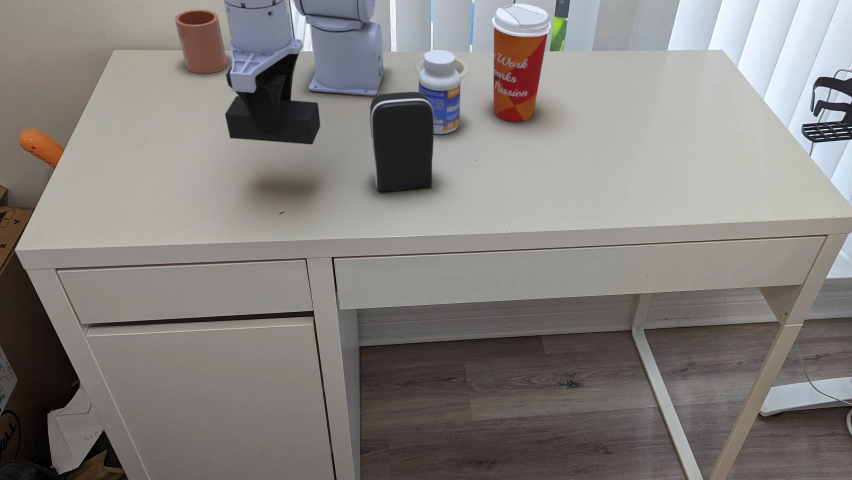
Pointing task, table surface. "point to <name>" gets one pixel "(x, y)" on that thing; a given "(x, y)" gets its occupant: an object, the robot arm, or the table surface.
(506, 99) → the paper cup
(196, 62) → the terracotta cup
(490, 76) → the table surface
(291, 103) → the black block
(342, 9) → the robot arm
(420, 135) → the battery charger
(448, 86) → the pill bottle
